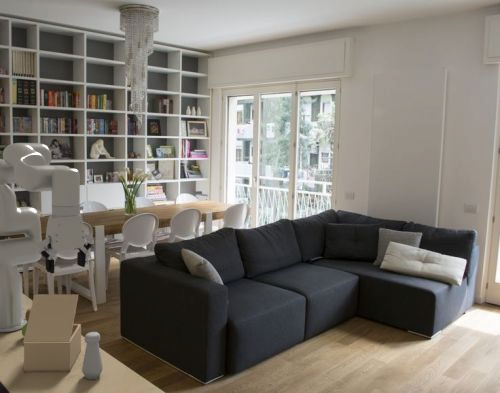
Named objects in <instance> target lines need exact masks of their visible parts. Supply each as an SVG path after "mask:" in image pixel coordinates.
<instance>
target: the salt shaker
mask: <svg viewBox="0 0 500 393" xmlns="http://www.w3.org/2000/svg"><path fill="white" fill-rule="evenodd" d="M100 341H101V335H100V333H99V332H98V331H90V332H88V333H86V334H85V335H84V342H85V343H86V346H85V350H84V351H85V352H84V358H83V362H82V366H81V367H82V368H81V372H82V374H83V376H85V377H84V378H85V379H86V380H91V381H92V380H96V379H99V377H100V375H101V373H102V371H103V368H104V367H103V366H104V365H103V361H102V355H101V351H100V350H101V349H100V343H99V342H100Z"/></svg>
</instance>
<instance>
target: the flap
mask: <svg viewBox="0 0 500 393" xmlns="http://www.w3.org/2000/svg"><path fill="white" fill-rule="evenodd" d="M32 301H33V302H31V303H32V304H31V311H30V316H29V320H28V324H27V328H26V332H25V336H23V337H24V338H23V341H22V342H23V343H24V342H70V339H71V334H72V328H73V324H75V323H74V322H75V316H76V312H77V311H76V310H77V304H78V301H79V294H74V293H73V294H67V293H66V294H65V293H64V294H61V293H60V294H58V293H57V294H55V293H54V294H51V293H49V294H47V293H46V294H39V293H38V294H34V295H33V300H32Z"/></svg>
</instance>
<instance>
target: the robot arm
mask: <svg viewBox="0 0 500 393" xmlns="http://www.w3.org/2000/svg"><path fill="white" fill-rule="evenodd" d="M51 162H52V153H51V150H50V148H49V147H48V145H46V144H44V143H37V142H33V143H32V142H16V143H11V144H8V145H7V146H6V147H4V150H3V151H2V158H0V236H1V237H2V236H3V237H4V236H5V237H6V236H13V235H23V234H24V237H15V238H13V237H12V238H8V239H7V238H6V239H0V333H10V332H15V331H18V330H22V328H23V326H24V325H25V324H26V323H27V321H26V319H25V317H24V307H23V306H24V305H23V299H24V298H23V277H22V274H21V273H20V272H19V271H18V270H17V269H16V268H15V267H16V266H19V265H24V264H25V265H26V264H31V263H36V262H38V261H39V260H40V259H41V258H42V257H43V258H44V259H45V270H46V272H48V273H49V274H54V273H55V259H54V258H55V255H56V254H57V253H62V252H67V251H73V250H77V251H78V252H77V255H76V258H77V259H76V262H77V266H79V267H82V268H85V267H86V260H87V259H86V257H87V254H88V253H89V252H88V251H89V249H90V248H91V247H92V243H93V241H94V237H93V236H91V235H89V234H87V233H85V226H84V219H83V215H82V214H81V211H83V210H84V206H83V205H81V200H80V199H81V193H80V192H81V190H80V189H81V187H80V185H81V183H80V182H81V181H80V180H81V177H80V176H81V175H80V171H79V169H77V168H72V167H69V166H67V165H60V164H59V165H56V164H55V165H52V164H51ZM8 184H14V185H15V184H17V186H19V187H20V188H22V189H23V190H25V191H27V192H31V193H40V192H51V215H50V216H48V219H47V223H46V231H45V232H46V233H45V238H44V239H43V238H42V224H41V223H42V222H41V218H40V215H39V212H38V211H37V209H36V208H34V207H32V206H31V207H30V206H24V207H22V206H21V207H18V206H17V196H16V193H15V191H14V190H13V188H11V187H10V186H9V185H8ZM85 240H86V242H85ZM45 249H46V250H45Z"/></svg>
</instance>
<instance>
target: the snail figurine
mask: <svg viewBox="0 0 500 393" xmlns="http://www.w3.org/2000/svg"><path fill="white" fill-rule="evenodd" d="M31 303H33V300H31ZM30 311H31V308H28V309H27V310H26V312H25V317H24V318H25V319H26V321H27V323H26V324H25V325H24V326H23V328H21V334H22V336H23V337H24V336H25V332H26V328H27V324H28V320H29V316H30Z"/></svg>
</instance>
